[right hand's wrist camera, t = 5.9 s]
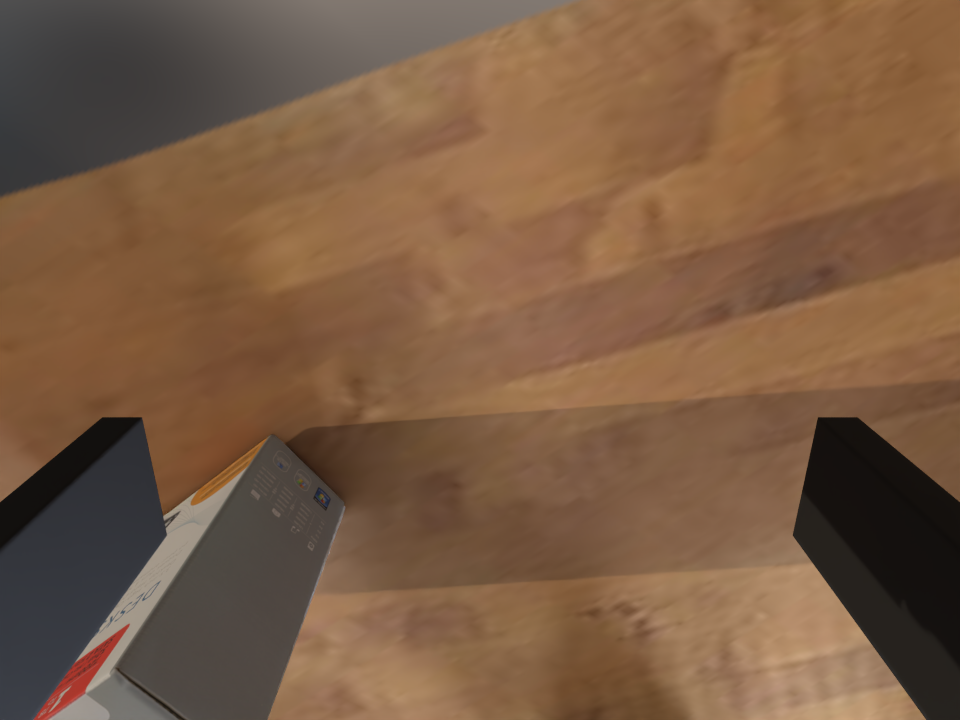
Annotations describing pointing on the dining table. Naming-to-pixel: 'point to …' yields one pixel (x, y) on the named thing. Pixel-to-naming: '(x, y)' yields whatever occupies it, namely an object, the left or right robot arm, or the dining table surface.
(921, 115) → the dining table surface
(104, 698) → the hard drive box
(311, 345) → the dining table surface
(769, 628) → the dining table surface
